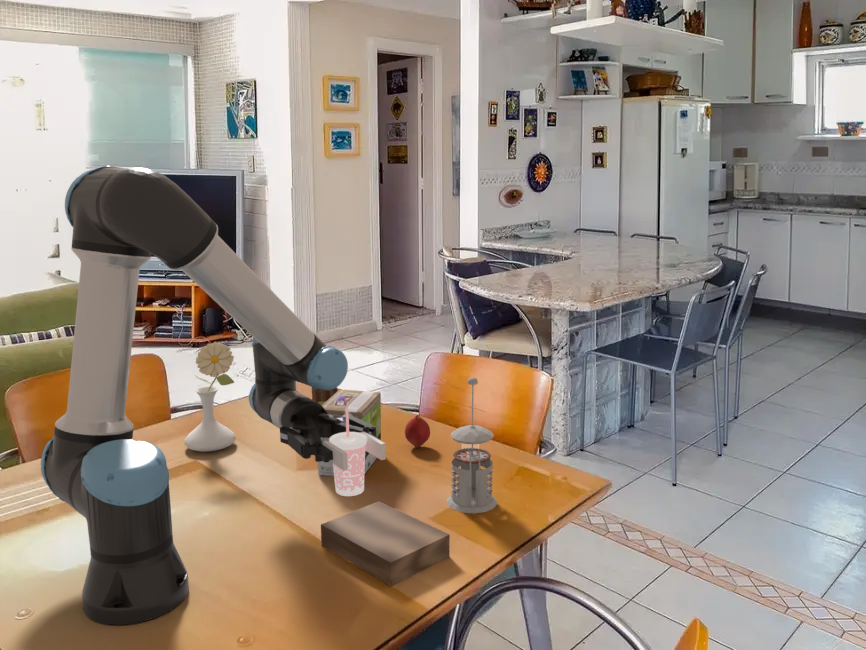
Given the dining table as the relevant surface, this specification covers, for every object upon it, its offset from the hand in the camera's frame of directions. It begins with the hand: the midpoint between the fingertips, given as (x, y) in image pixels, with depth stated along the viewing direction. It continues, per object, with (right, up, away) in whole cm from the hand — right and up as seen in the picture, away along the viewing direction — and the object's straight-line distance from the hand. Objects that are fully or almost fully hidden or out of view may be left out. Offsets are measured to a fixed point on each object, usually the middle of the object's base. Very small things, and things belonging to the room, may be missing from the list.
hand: (364, 456), depth 124 cm
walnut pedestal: (+2, -18, +11) cm, 21 cm away
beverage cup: (-3, -7, +6) cm, 9 cm away
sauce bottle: (-14, -7, +62) cm, 64 cm away
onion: (+7, -8, +58) cm, 58 cm away
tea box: (-7, -10, +48) cm, 50 cm away
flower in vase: (-40, -8, +58) cm, 71 cm away
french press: (+18, -14, +28) cm, 37 cm away
